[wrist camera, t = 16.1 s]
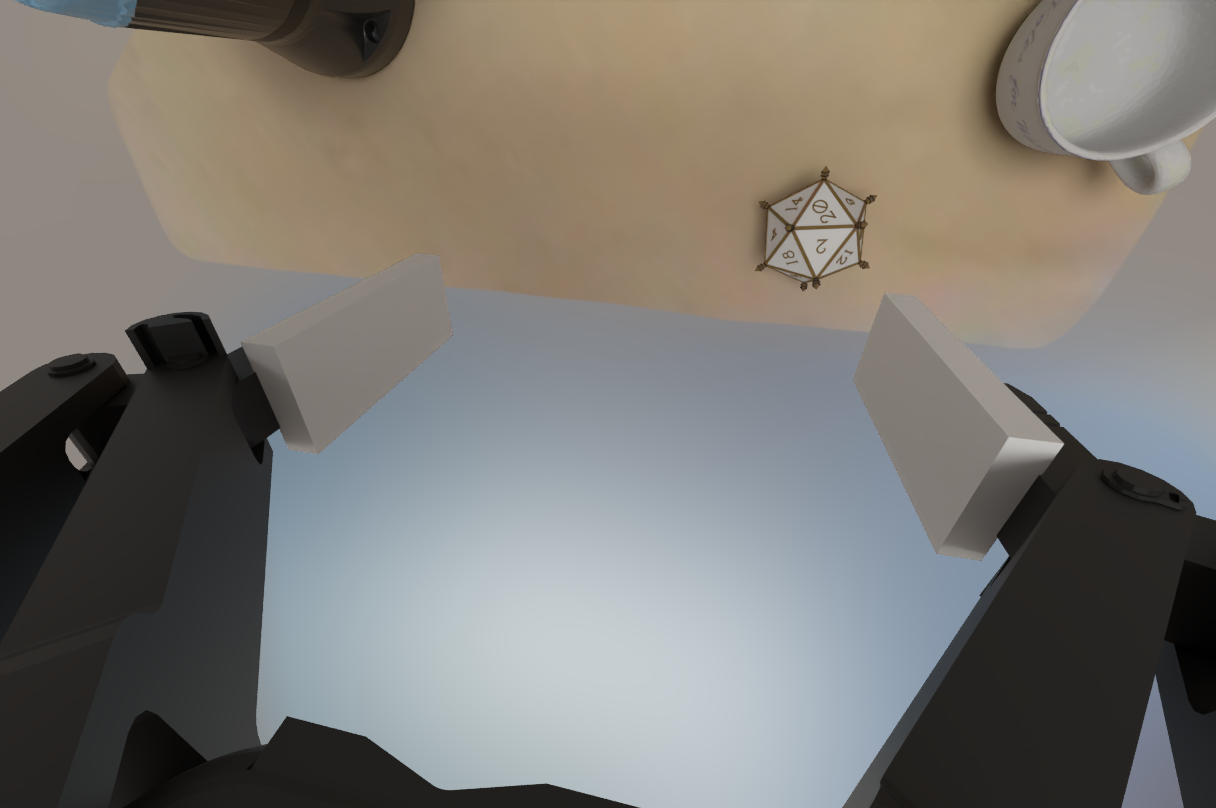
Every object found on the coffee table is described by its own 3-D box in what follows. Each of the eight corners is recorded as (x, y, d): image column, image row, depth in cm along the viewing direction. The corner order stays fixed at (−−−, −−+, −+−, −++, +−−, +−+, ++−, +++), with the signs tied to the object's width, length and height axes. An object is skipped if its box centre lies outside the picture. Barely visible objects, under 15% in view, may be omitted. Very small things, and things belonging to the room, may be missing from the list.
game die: (776, 213, 43) (719, 195, 36) (877, 163, 37) (833, 130, 30) (799, 307, 43) (747, 308, 36) (905, 272, 37) (866, 265, 30)
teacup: (971, 10, 31) (1040, -15, 24) (1194, -95, 27) (1349, -159, 20) (982, 216, 37) (1040, 241, 30) (1166, 155, 33) (1278, 169, 26)
